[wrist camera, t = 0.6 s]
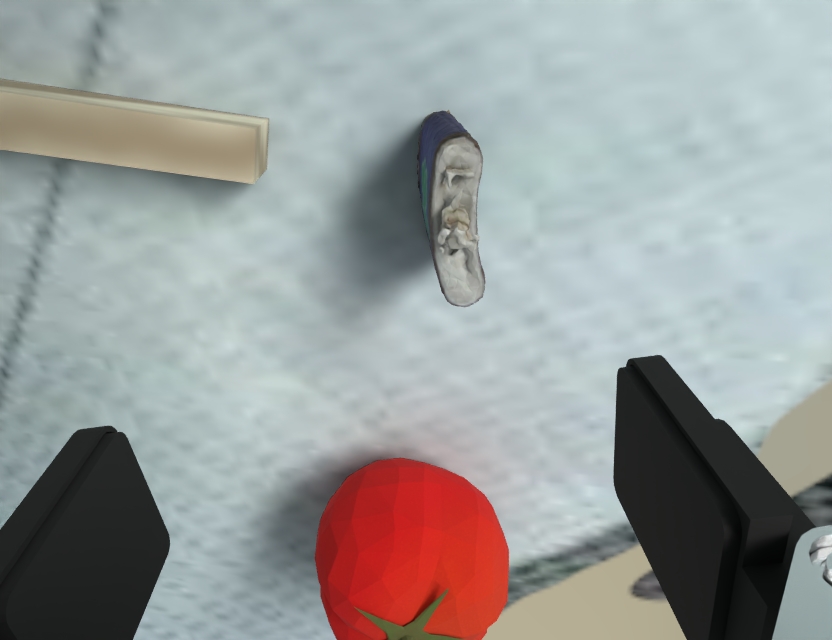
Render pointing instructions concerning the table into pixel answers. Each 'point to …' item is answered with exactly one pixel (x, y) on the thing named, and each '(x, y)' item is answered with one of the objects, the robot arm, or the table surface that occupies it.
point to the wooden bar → (132, 132)
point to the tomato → (410, 555)
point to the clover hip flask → (451, 205)
